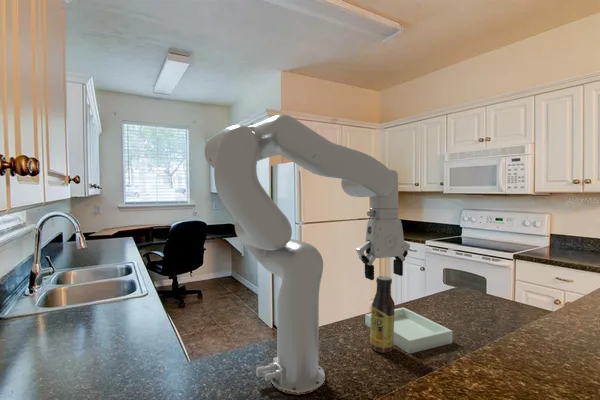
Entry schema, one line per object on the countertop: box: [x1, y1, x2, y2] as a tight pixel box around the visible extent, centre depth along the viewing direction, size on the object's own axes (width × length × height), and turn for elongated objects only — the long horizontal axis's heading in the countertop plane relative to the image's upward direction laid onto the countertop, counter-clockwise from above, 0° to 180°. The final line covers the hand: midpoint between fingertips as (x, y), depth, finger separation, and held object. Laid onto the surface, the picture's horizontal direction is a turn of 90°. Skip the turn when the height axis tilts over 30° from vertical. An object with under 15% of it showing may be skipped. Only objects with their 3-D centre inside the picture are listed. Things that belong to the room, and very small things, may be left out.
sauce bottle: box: [369, 275, 396, 354], centre depth 86 cm, size 6×6×20 cm
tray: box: [364, 307, 454, 355], centre depth 95 cm, size 16×20×4 cm
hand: (384, 276), depth 86 cm, fingers open, 9 cm apart
